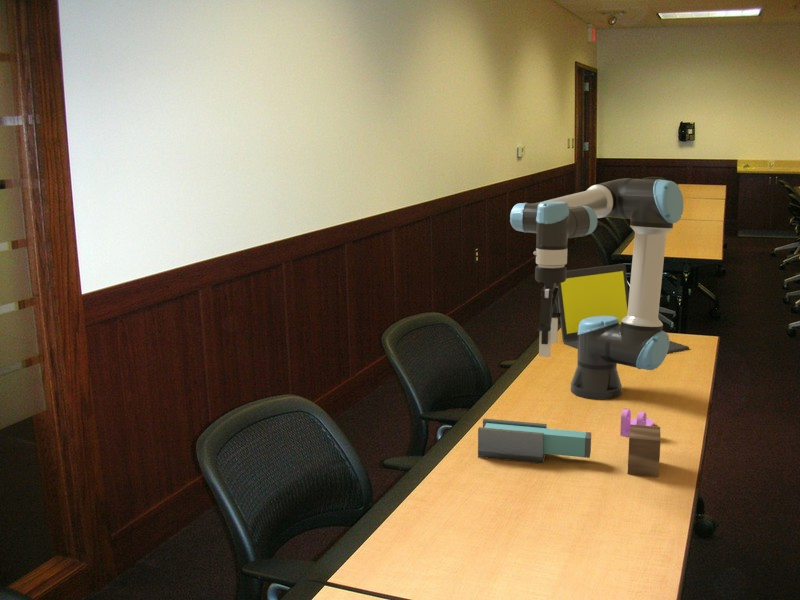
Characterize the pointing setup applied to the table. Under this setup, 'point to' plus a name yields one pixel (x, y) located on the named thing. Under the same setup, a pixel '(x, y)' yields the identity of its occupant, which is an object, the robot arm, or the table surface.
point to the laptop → (595, 299)
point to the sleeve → (511, 442)
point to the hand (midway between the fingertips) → (548, 349)
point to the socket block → (644, 450)
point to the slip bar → (557, 440)
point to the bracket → (633, 421)
